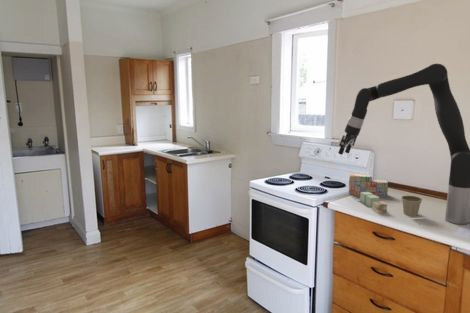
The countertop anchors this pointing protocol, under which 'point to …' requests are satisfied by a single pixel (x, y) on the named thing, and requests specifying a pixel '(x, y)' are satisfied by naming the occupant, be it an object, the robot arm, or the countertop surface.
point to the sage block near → (371, 200)
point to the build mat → (364, 204)
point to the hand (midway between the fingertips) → (343, 153)
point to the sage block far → (364, 196)
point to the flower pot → (411, 205)
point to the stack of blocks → (367, 185)
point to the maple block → (379, 207)
